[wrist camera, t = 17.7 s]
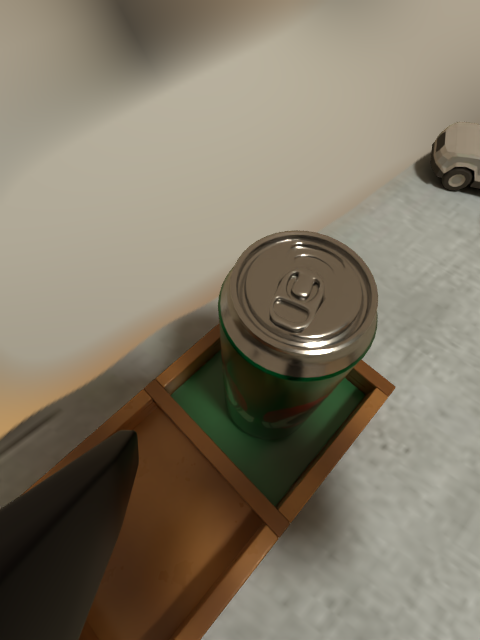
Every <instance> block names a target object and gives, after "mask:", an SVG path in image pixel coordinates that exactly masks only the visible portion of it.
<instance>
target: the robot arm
mask: <svg viewBox="0 0 480 640" xmlns="http://www.w3.org/2000/svg"><path fill="white" fill-rule="evenodd" d="M138 464H139V451H138V437H137V433H136V431H134V430H119V431H118V432H116V433H114V434H113V435H111V436H110V437H108V438H107V439H105V440H104V441H102V442H101V443H99V444H98V445H96V446H95V447H93V448H92V449H90V450H89V451H87V452H86V453H84V454H83V455H81V456H80V457H78V458H77V459H75V460H74V461H72V462H71V463H69V464H68V465H66V466H65V467H63V468H62V469H60V470H59V471H57V472H56V473H54V474H53V475H51V476H50V477H48V478H47V479H45V480H44V481H42V482H41V483H39V484H38V485H36V486H35V487H33V488H32V489H30V490H29V491H27V492H26V493H24V494H23V495H21V496H20V497H18V498H17V499H15V500H14V501H12V502H11V503H9V504H8V505H6V506H4V507H3V508H1V509H0V640H79V637H80V634H81V632H82V629H83V627H84V624H85V622H86V619H87V616H88V614H89V611H90V609H91V606H92V603H93V601H94V598H95V596H96V593H97V590H98V588H99V585H100V583H101V580H102V578H103V575H104V572H105V570H106V567H107V565H108V562H109V559H110V557H111V554H112V552H113V549H114V547H115V544H116V541H117V539H118V536H119V533H120V530H121V528H122V524H123V521H124V517H125V514H126V510H127V506H128V503H129V499H130V495H131V491H132V488H133V484H134V480H135V477H136V473H137V469H138Z"/></svg>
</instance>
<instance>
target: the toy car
mask: <svg viewBox="0 0 480 640" xmlns="http://www.w3.org/2000/svg"><path fill="white" fill-rule="evenodd" d="M430 162H431V166H432V169H433V171H434V173H435V174H436V176H438V177H440V178H442V184H443V186H444V188H446V189H448V190H459V189H462V188H465V187H466V186H467V185H468V184H469V183H470V187H474V188H478V189H480V124H476V123H469V122H457V123H454V124H452V125H450V126H449V127H447V128H446V129H445V130H444V131H443V132H441V133H440V134H439V136H438V137H437V139H436V140H435V142H434V143H433V144H432V152H431V161H430Z"/></svg>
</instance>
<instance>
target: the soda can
mask: <svg viewBox="0 0 480 640" xmlns="http://www.w3.org/2000/svg"><path fill="white" fill-rule="evenodd" d="M377 307H378V292H377V286H376V283H375V280H374V277H373V275H372V273H371V271H370V270H369V268H368V266H367V265H366V264H365V262H364V261H363V260H362V259H361V258H360V257H359V256H358V255H357V254H356V253H355V252H354V251H353V250H352V249H350V248H349V247H348V246H346V245H345V244H343V243H341V242H339V241H338V240H336V239H333V238H331V237H329V236H326V235H322V234H319V233H315V232H309V231H285V232H279V233H275V234H272V235H269V236H266V237H264V238H262V239H260V240H258V241H256V242H255V243H253V244H252V245H251V246H249V247H248V248H247V249H246V250H245V251H244V252H243V253H242V255H241V256H240V257H239V259H238V260H237V262H236V264H235V266H234V267H233V268H232V270H231V271H230V272H229V274H228V275H227V276H226V278H225V280H224V282H223V284H222V287H221V291H220V294H219V301H218V313H219V326H220V340H221V354H222V367H223V381H224V395H225V404H226V408H227V411H228V413H229V416H230V417H231V419H232V420H233V422H234V423H235V424H236V425H237V427H239V428H240V429H241V430H242V431H243V432H245V433H247V434H248V435H250V436H252V437H255V438H258V439H262V440H277V439H281V438H285V437H287V436H289V435H291V434H292V433H294V432H295V431H297V430H298V429H299V428H300V427H301V426H302V425H303V423H304V422H305V421H306V420H307V419H308V418H309V417H310V416H311V415H312V414H313V412H314V411H315V410H316V409H317V408H318V407H319V406H320V405H321V404H322V402H323V401H324V400H325V399H326V398H327V397H328V396H329V395H330V394H331V393H332V391H333V390H334V389H335V388H336V387H337V386H338V385H339V384H340V383H341V382H342V380H343V379H344V378H345V377H346V376H347V375H348V374H349V373H350V372H351V370H352V369H353V368H354V367H355V366H356V365H357V364H358V363H359V362H360V361H361V359H362V358H363V357H364V356H365V354H366V353H367V351H368V350H369V349H370V347H371V345H372V342H373V340H374V338H375V334H376V330H377V319H378V315H377Z"/></svg>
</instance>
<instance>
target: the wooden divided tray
mask: <svg viewBox="0 0 480 640" xmlns="http://www.w3.org/2000/svg"><path fill="white" fill-rule="evenodd" d="M394 389H395V386H394V385H393V384H391V383H390V382H389V381H388V380H386V379H385V378H384V377H383V376H381V375H380V374H379V373H378V372H376V371H375V370H374V369H373V368H371V367H370V366H369V365H368V364H366V363H365V362H364V361H363V360H361V361H360V362H359V363H358V364H357V365H356V366H355V367H354V368H353V369H352V370H351V372H350V373H349V374H348V375H347V376H346V377H345V378H344V379H343V380H342V382H341V383H340V384H339V385H338V386H337V387H336V388H335V389H334V390H333V391H332V393H331V394H330V395H329V396H328V397H327V398H326V399H325V400H324V401H323V402H322V404H321V405H320V406H319V407H318V408H317V409H316V410H315V411H314V412H313V414H312V415H311V416H310V417H309V418H308V419H307V420H306V421H305V422H304V423H303V425H302V426H301V427H300V428H299V429H298V430H297V431H295V432H294V433H292V434H291V435H289V436H287V437H285V438H281V439H277V440H262V439H258V438H255V437H252V436H250V435H248V434H247V433H245V432H243V431H242V430H241V429H240V428H239V427H237V425H236V424H235V423H234V422H233V420H232V419H231V417H230V416H229V413H228V411H227V408H226V404H225V395H224V381H223V367H222V354H221V340H220V326H219V324H218V325H216V326H215V327H214V328H213V329H212V330H211V331H209V332H208V333H207V334H206V335H205V336H204V337H203V338H201V339H200V340H199V341H198V342H197V343H196V344H195V345H193V346H192V347H191V348H190V349H189V350H188V351H186V352H185V353H184V354H183V355H182V356H181V357H180V358H178V359H177V360H176V361H175V362H174V363H173V364H172V365H170V366H169V367H168V368H167V369H166V370H165V371H163V372H162V373H161V374H160V375H159V376H158V377H157V378H156V380H155V379H154V380H153V381H152V382H150V383H149V384H148V385H147V386H146V387H145V388H144V389H143V390H141V391H140V392H139V393H138V394H137V395H136V396H135V397H133V398H132V399H131V400H130V401H129V402H128V403H127V404H125V405H124V406H123V407H122V408H121V409H120V410H118V411H117V412H116V413H115V414H114V415H113V416H112V417H110V418H109V419H108V420H107V421H106V422H105V423H104V424H102V425H101V426H100V427H99V428H98V429H97V430H95V431H94V432H93V433H92V434H91V435H90V436H89V437H87V438H86V439H85V440H84V441H83V442H82V443H81V444H79V445H78V446H77V447H76V448H75V449H74V450H72V451H71V452H70V453H69V454H68V455H67V456H66V457H64V458H63V459H62V460H61V461H60V462H59V463H58V464H56V465H55V466H54V467H53V468H52V469H51V470H49V471H48V472H47V473H46V474H45V475H44V476H43V477H41V478H40V479H39V480H38V481H37V482H36V483H35V484H33V485H32V486H31V487H30V488H29V489H28V490H26V491H25V492H24V493H26V492H27V491H29V490H30V489H32V488H33V487H35V486H36V485H38V484H39V483H41V482H42V481H44V480H45V479H47V478H48V477H50V476H51V475H53V474H54V473H56V472H57V471H59V470H60V469H62V468H63V467H65V466H66V465H68V464H69V463H71V462H72V461H74V460H75V459H77V458H78V457H80V456H81V455H83V454H84V453H86V452H87V451H89V450H90V449H92V448H93V447H95V446H96V445H98V444H99V443H101V442H102V441H104V440H105V439H107V438H108V437H110V436H111V435H113V434H114V433H116V432H118V431H119V430H134V431H136V433H137V437H138V451H139V464H138V469H137V473H136V477H135V480H134V484H133V488H132V491H131V495H130V499H129V503H128V506H127V510H126V514H125V517H124V521H123V524H122V528H121V530H120V533H119V536H118V539H117V541H116V544H115V547H114V549H113V552H112V554H111V557H110V559H109V562H108V565H107V567H106V570H105V572H104V575H103V578H102V580H101V583H100V585H99V588H98V590H97V593H96V596H95V598H94V601H93V603H92V606H91V609H90V611H89V614H88V616H87V619H86V622H85V624H84V627H83V629H82V632H81V634H80V637H79V640H200V639H201V638H202V637H203V636H204V634H205V633H206V632H207V630H208V629H209V628H210V627H211V625H212V624H213V623H214V621H215V620H216V619H217V617H218V616H219V615H220V614H221V612H222V611H223V610H224V608H225V607H226V606H227V605H228V603H229V602H230V601H231V599H232V598H233V597H234V596H235V594H236V593H237V592H238V590H239V589H240V588H241V587H242V585H243V584H244V583H245V581H246V580H247V579H248V577H249V576H250V575H251V574H252V572H253V571H254V570H255V568H256V567H257V566H258V565H259V563H260V562H261V561H262V559H263V558H264V557H265V556H266V554H267V553H268V552H269V550H270V549H271V548H272V547H273V545H274V544H275V543H276V541H277V540H278V537H280V536H281V535H282V534H283V533H284V531H285V530H286V529H287V527H288V526H289V525H290V523H291V522H292V521H293V520H294V518H295V517H296V516H297V514H298V513H299V512H300V510H301V509H302V508H303V507H304V505H305V504H306V503H307V501H308V500H309V499H310V498H311V496H312V495H313V494H314V492H315V491H316V490H317V489H318V487H319V486H320V485H321V483H322V482H323V481H324V480H325V478H326V477H327V476H328V474H329V473H330V472H331V470H332V469H333V468H334V467H335V465H336V464H337V463H338V461H339V460H340V459H341V458H342V456H343V455H344V454H345V452H346V451H347V450H348V449H349V447H350V446H351V445H352V443H353V442H354V441H355V439H356V438H357V437H358V436H359V434H360V433H361V432H362V430H363V429H364V428H365V427H366V425H367V424H368V423H369V421H370V420H371V419H372V418H373V416H374V415H375V414H376V412H377V411H378V410H379V409H380V407H381V406H382V405H383V403H384V402H385V401H386V399H387V398H388V397H389V396H390V394H391V393H392V392H393V390H394ZM24 493H23V494H24ZM23 494H22V495H23ZM289 522H290V523H289Z"/></svg>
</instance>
